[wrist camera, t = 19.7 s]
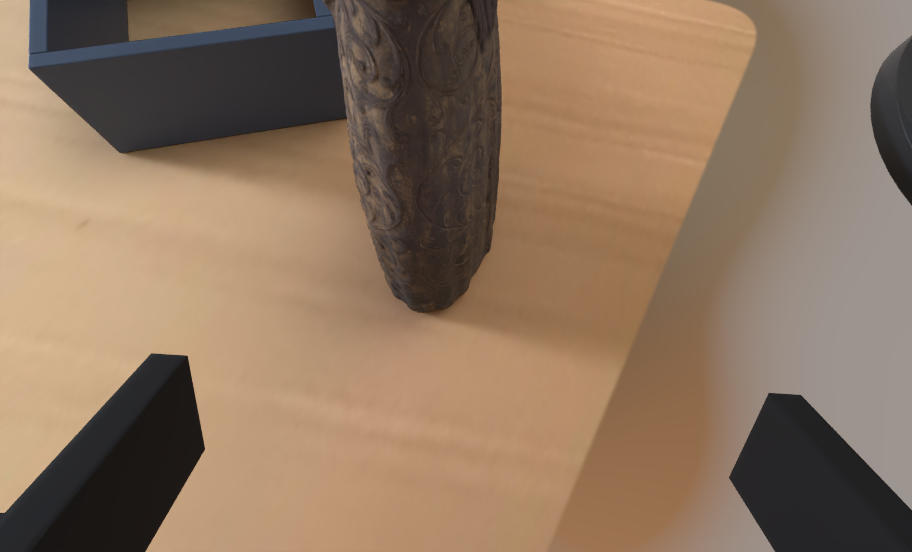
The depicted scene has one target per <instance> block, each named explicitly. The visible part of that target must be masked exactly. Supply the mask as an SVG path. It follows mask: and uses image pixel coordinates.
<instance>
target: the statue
mask: <svg viewBox="0 0 912 552" xmlns="http://www.w3.org/2000/svg"><path fill="white" fill-rule="evenodd" d="M322 1H323V3H324V5H325V6H326V7H327V9H328V10H329V11H330V12H331V13H332V17H333V19H334V21H335V23H336V30H337V42H338V53H339V59H340V68H341V73H342V81H343V87H344V101H345V106H346V116H347V118H348V123H347V126H348V133H349V137H350V149H351V154H352V158H353V168H354V173H355V180H356V184H357V188H358V190H359V193H360V196H361V204H362V208H363V210H364V211H365V214H366V218H367V225H368V228H369V230H370V232H371V233H370V234H371V237H372V239H373V243H374V245H375V249H376V252H377V256H378V259H379V262H380V265H381V267H382V269H383V271H384V272H385V278H386V281H387V283H388V285H389V287H390V288H391V290H392V292H393V294H394V296H395V297H396V298H398V299H400V300H402V301H404V302H405V303H406V304H407V306H408V307H409V308H410V309H411V310H413V311H417V312H421V313H426V312H430V311H432V310H437V309H445V308H448V307H449V306H450V305H451V304H452V303H453V302H454V300H455V299H456V298H457V297H459V296H461V295H462V294H464V293H465V292H466V290H467V289H468V287H469V282H470V280H471V277H472V276H473V275H474V274H475V273H476V271H477V269H478V267H479V266H480V263H481V261H482V259H483V257H484V256H485V255H486V254H487V253H488V252H489V251H490V247H491V240H492V233H493V228H492V227H493V223H494V220H495V211H496V201H497V189H498V180H499V154H500V144H501V110H502V109H501V106H502V105H501V104H502V101H501V71H500V52H499V50H500V47H499V32H498V17H497V0H322Z"/></svg>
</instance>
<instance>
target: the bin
mask: <svg viewBox="0 0 912 552" xmlns="http://www.w3.org/2000/svg"><path fill="white" fill-rule="evenodd" d="M313 2H314V7H315V12H316V18H308V19H301V20H293V21H285V22H278V23H270V24H262V25H255V26H247V27H239V28H231V29H224V30H216V31H208V32H201V33H193V34H185V35H177V36H170V37H162V38H154V39H147V40H139V41H131V42H129V39H128V19H127V0H30V18H29V66H28V67H29V69H30V70H31V71H32V72H33V73H34V74H35V75H36V76H37V77H38V78H39V79H40V80H42V81H43V82H44V83H45V84H46V85H47V86H48V87H49V88H50V89H51V90H52V91H53V92H55V93H56V94H57V95H58V96H59V97H60V98H61V99H62V100H63V101H64V102H65V103H66V104H68V105H69V106H70V107H71V108H72V109H73V110H74V111H75V112H76V113H77V114H78V115H79V116H81V117H82V118H83V119H84V120H85V121H86V122H87V123H88V124H89V125H90V126H91V127H92V128H94V129H95V130H96V131H97V132H98V133H99V134H100V135H101V136H102V137H103V138H104V139H105V140H107V141H108V142H109V143H110V144H111V145H112V146H113V147H114V148H115V149H116V150H117V151H118V152H120V153H124V152H130V151H137V150H143V149H150V148H156V147H162V146H169V145H175V144H181V143H188V142H194V141H201V140H207V139H213V138H220V137H226V136H233V135H239V134H245V133H252V132H258V131H264V130H271V129H277V128H284V127H290V126H296V125H303V124H309V123H316V122H322V121H328V120H335V119H341V118H347V116H346V106H345V101H344V87H343V81H342V73H341V68H340V59H339V53H338V42H337V30H336V23H335V21H334V19H333V17H332V13H331V12H330V11H329V10H328V9H327V7H326V6H325V5H324V3H323V1H322V0H313Z"/></svg>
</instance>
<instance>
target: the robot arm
mask: <svg viewBox="0 0 912 552" xmlns="http://www.w3.org/2000/svg"><path fill="white" fill-rule="evenodd" d="M204 450H205V446H204V441H203V436H202V430H201V425H200V420H199V414H198V409H197V404H196V398H195V393H194V388H193V382H192V377H191V372H190V366H189V361H188V356H182V355H166V354H150V356H149V357H148V358H147V359H146V360H145V361H144V362H143V363H142V364H141V365H140V366H139V368H138V369H137V370H136V371H135V372H134V373H133V374H132V375H131V376H130V377H129V378H128V380H127V381H126V382H125V383H124V384H123V385H122V386H121V387H120V388H119V389H118V390H117V391H116V393H115V394H114V395H113V396H112V397H111V398H110V399H109V400H108V401H107V402H106V403H105V405H104V406H103V407H102V408H101V409H100V410H99V411H98V412H97V413H96V414H95V415H94V417H93V418H92V419H91V420H90V421H89V422H88V423H87V424H86V425H85V426H84V427H83V428H82V430H81V431H80V432H79V433H78V434H77V435H76V436H75V437H74V438H73V439H72V440H71V442H70V443H69V444H68V445H67V446H66V447H65V448H64V449H63V450H62V451H61V452H60V454H59V455H58V456H57V457H56V458H55V459H54V460H53V461H52V462H51V463H50V464H49V465H48V467H47V468H46V469H45V470H44V471H43V472H42V473H41V474H40V475H39V476H38V477H37V479H36V480H35V481H34V482H33V483H32V484H31V485H30V486H29V487H28V488H27V489H26V491H25V492H24V493H23V494H22V495H21V496H20V497H19V498H18V499H17V500H16V501H15V503H14V504H13V505H12V506H11V507H10V508H9V509H8V510H7V511H6V512H5V513H0V552H145V551H146V550H147V548H148V546H149V544H150V543H151V541H152V539H153V538H154V536H155V534H156V532H157V531H158V529H159V527H160V526H161V524H162V522H163V520H164V519H165V517H166V515H167V514H168V512H169V510H170V508H171V507H172V505H173V503H174V501H175V500H176V498H177V496H178V495H179V493H180V491H181V489H182V488H183V486H184V484H185V483H186V481H187V479H188V477H189V476H190V474H191V472H192V471H193V469H194V467H195V465H196V464H197V462H198V460H199V458H200V457H201V455H202V453H203V452H204ZM729 478H730V480H731V481H732V483H733V485H734V486H735V488H736V490H737V491H738V493H739V494H740V496H741V498H742V499H743V501H744V502H745V504H746V506H747V507H748V509H749V510H750V512H751V513H752V515H753V517H754V518H755V520H756V522H757V523H758V525H759V526H760V528H761V530H762V531H763V533H764V534H765V536H766V538H767V539H768V541H769V542H770V544H771V546H772V547H773V549H774V550H775V552H912V510H911V509H910V508H909V507H908V506H907V505H906V504H905V503H904V502H903V501H902V500H901V499H900V498H899V497H898V496H897V494H895V492H893V490H892V489H891V488H890V487H889V486H888V485H887V484H886V483H885V482H884V481H883V480H882V479H881V478H880V477H879V476H878V475H877V474H876V473H875V472H874V471H873V470H872V469H871V468H870V467H869V465H867V463H866V462H865V461H864V460H863V459H862V458H861V457H860V456H859V455H858V454H857V453H856V452H855V451H854V450H853V449H852V448H851V447H850V446H849V445H848V444H847V443H846V441H845V440H844V439H843V438H842V437H841V436H840V435H839V434H838V433H837V432H836V431H835V430H834V429H833V428H832V427H831V426H830V425H829V424H828V423H827V422H826V421H825V420H824V419H823V418H822V417H821V416H820V414H819V413H818V412H817V411H816V410H815V409H814V408H813V407H812V406H811V405H810V404H809V403H808V402H807V401H806V400H805V399H804V398H803V397H802V396H801V395H792V394H775V393H769V394H768V396H767V398H766V401H765V403H764V405H763V407H762V409H761V411H760V413H759V415H758V418H757V420H756V422H755V424H754V426H753V428H752V430H751V432H750V434H749V436H748V439H747V441H746V443H745V445H744V447H743V449H742V451H741V454H740V456H739V458H738V460H737V462H736V464H735V466H734V468H733V470H732V473H731V475H730V477H729Z"/></svg>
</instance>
